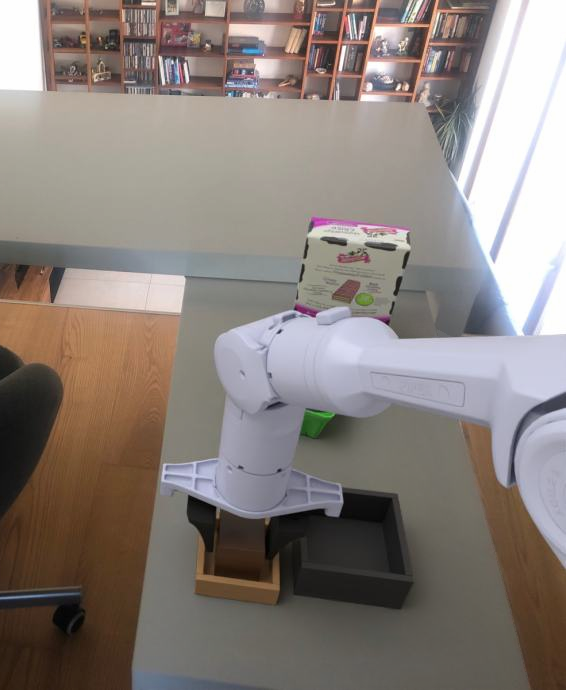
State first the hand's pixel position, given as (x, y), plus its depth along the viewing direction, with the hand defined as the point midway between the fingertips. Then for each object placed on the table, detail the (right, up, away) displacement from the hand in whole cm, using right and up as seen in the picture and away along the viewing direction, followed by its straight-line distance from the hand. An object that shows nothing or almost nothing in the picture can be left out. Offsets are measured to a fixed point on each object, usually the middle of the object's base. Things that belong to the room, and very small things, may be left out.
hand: (239, 546), depth 62 cm
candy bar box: (+17, +18, +26) cm, 36 cm away
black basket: (+10, -2, +2) cm, 10 cm away
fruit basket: (+10, +11, +17) cm, 23 cm away
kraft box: (0, -2, +2) cm, 3 cm away
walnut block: (0, -2, +2) cm, 2 cm away
